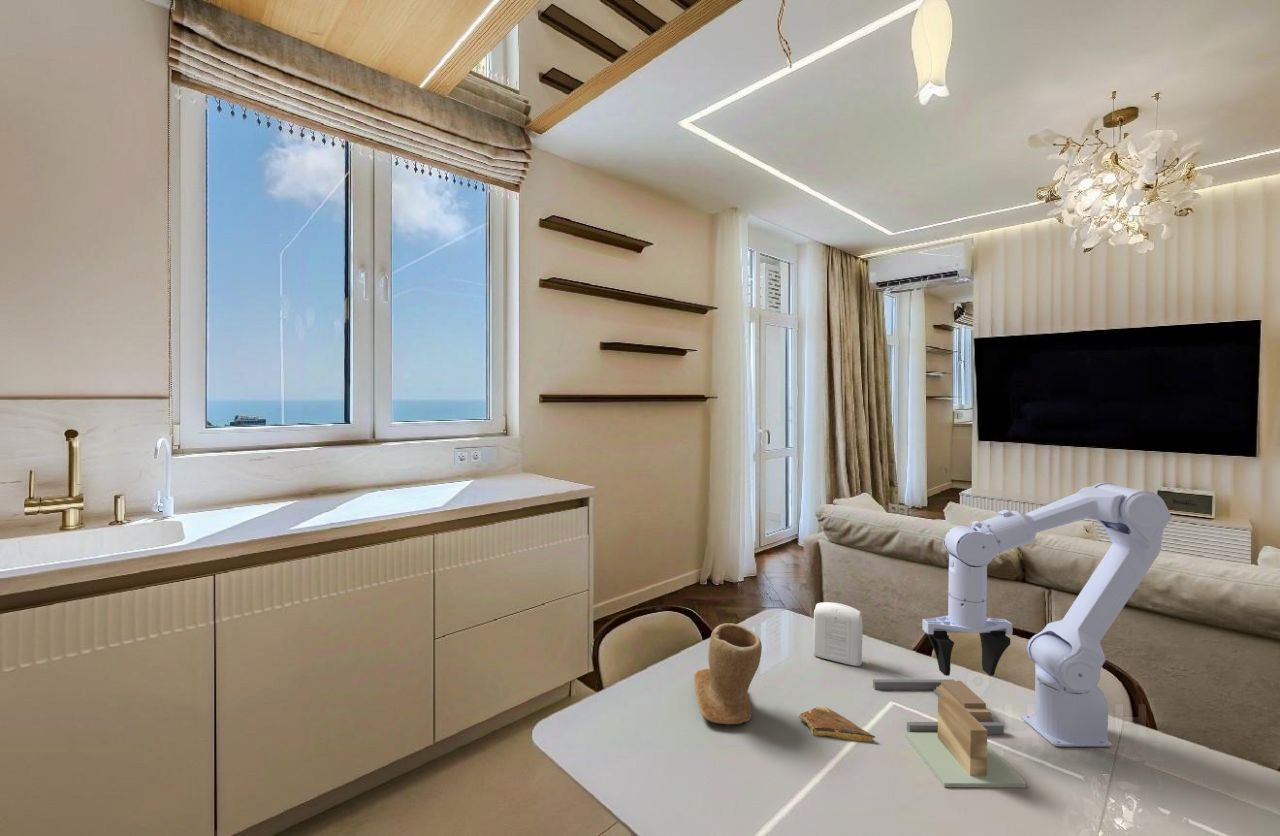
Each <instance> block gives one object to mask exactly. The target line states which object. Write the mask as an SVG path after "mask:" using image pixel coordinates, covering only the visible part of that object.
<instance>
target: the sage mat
mask: <svg viewBox="0 0 1280 836" xmlns="http://www.w3.org/2000/svg"><path fill="white" fill-rule="evenodd" d="M904 734H905V738H906V739H907V740H908V741H909V743H910V744H911V745H912V747H913V748H914V749H915V751H916V752H917V754H918V755H919V756H920V758H921V759H922V760H923V761H924V763H925V764H926V765H927V767H929V769H930V770H931V771H932V772H931V773H933V774H934V775H935V777H936V778H937V780H938V781H939V782H940V784H941V785H942V786H943V788H1027V783H1026V782H1025V780H1024V779H1022V778H1021V776H1020V775H1018V773H1016V772H1015V770H1014V769H1013V768H1011V766H1010V765H1008V763H1006V761H1005V760H1004V759H1003V758H1002V757H1001V756H1000V755H999V754H998V753H997V752H996V751H995V750H994V749H993V748H992V747H991V746H990V745H989V744H988V743H987V776H970V775H969V774H968V773H967V772H966V770H965V769H964V768H963V767H962V766H961V765H960V763H959V762H958V761H957V760H956V759H955V758H954V756H953V755H952V754H951V753H950V752H949V750H948V749H947V748H946V747H945V746H944V745H943V743H942V742H941V741H940V740H939V739H938V732H908V731H907V732H905V733H904Z"/></svg>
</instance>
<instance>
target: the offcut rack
mask: <svg viewBox="0 0 1280 836" xmlns="http://www.w3.org/2000/svg"><path fill="white" fill-rule="evenodd" d="M872 688H873V689H874V690H882V691H883V690H889V691H890V690H891V691H892V690H893V691H894V690H898V691H899V690H902V691H903V690H908V691H909V690H925V691H926V690H929V691H930V690H932V691H933V694H934V695H935V696H937V698H938V697H954V698H955V699H956V700H957V701H958V702H959V703H960V704H961V705H962V706H963V707H964V708H965V709H966V710H967V711H968V712H969V713H970V714H971V715H972V716H973V717H974V718H975V719H976V720H977V721H978V722H979V723H980V724H981V725H982V726H983V727H984V728H985V729H986V730H987V735H1004V733H1005V731H1004V729H1005V726H1004V724H1003V723H1002V722H1000V721H995V720H994V717H993V716H992V715H991V711H990V710H988V708H987V703H986V702H985V701H984V700H983V699H981V697H979V695H977V694H976V693H975V692H974V691H972V689H971V688H970V687H968V686H967V685H966V684H965V683H964V682H963V681H961V680H955V679H931V678H929V679H927V678H925V679H920V678H919V679H916V678H915V679H909V678H908V679H900V678H899V679H897V678H896V679H886V678H885V679H883V678H882V679H880V678H879V679H875V678H874V679H872ZM906 731H907V732H938V721H907V722H906Z"/></svg>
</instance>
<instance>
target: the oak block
mask: <svg viewBox="0 0 1280 836" xmlns="http://www.w3.org/2000/svg"><path fill="white" fill-rule="evenodd" d="M937 722H938V739H939V740H940V741H941V742H942V743H943V745H944V746H945V747H946V748H947V749H948V750H949V752H950V753H951V754H952V755H953V756H954V758H955V759H956V760H957V761H958V762H959V763H960V765H961V766H962V767H963V768H964V769H965V770H966V772H967V773H968V774H969V775H970V776H987V744H988V734H987V730H986V729H985V728H984V727H983V726H982V725H981V724H980V723H979V722H978V721H977V720H976V719H975V718H974V717H973V716H972V715H971V714H970V713H969V712H968V711H967V710H966V709H965V708H964V707H963V706H962V705H961V704H960V703H959V702H958V701H957V700H956V699H955V698H954V697H938V696H937Z"/></svg>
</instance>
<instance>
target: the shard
mask: <svg viewBox="0 0 1280 836" xmlns="http://www.w3.org/2000/svg"><path fill="white" fill-rule="evenodd" d="M798 718H799V719H800V720H801V721H803V723H805V724H806V723H807V724H806V725H807V727H808V728H809V729H810V732H811V734H812V736H823V737H825V736H827V737H832V738H837V739H838V738H839V739H845V740H850V741H851V740H852V741H856V742H857V741H858V742H873V739H875V738H876V735H873V734H871V733H870V732H868V731H867V730H865V729H863V728H861V727H860V726H858V725H857V724H856V723H854V722H852V721H851V720H849V719H847V718H846V717H845V716H842V715H841V714H839V713H837V712H836V711H834V710H832V709H830V708H828V707H826V706H825V707H824V706H816V707H814V708H811V709H809V710H807V711H804V712H802V713H800V714H799V715H798Z"/></svg>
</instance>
